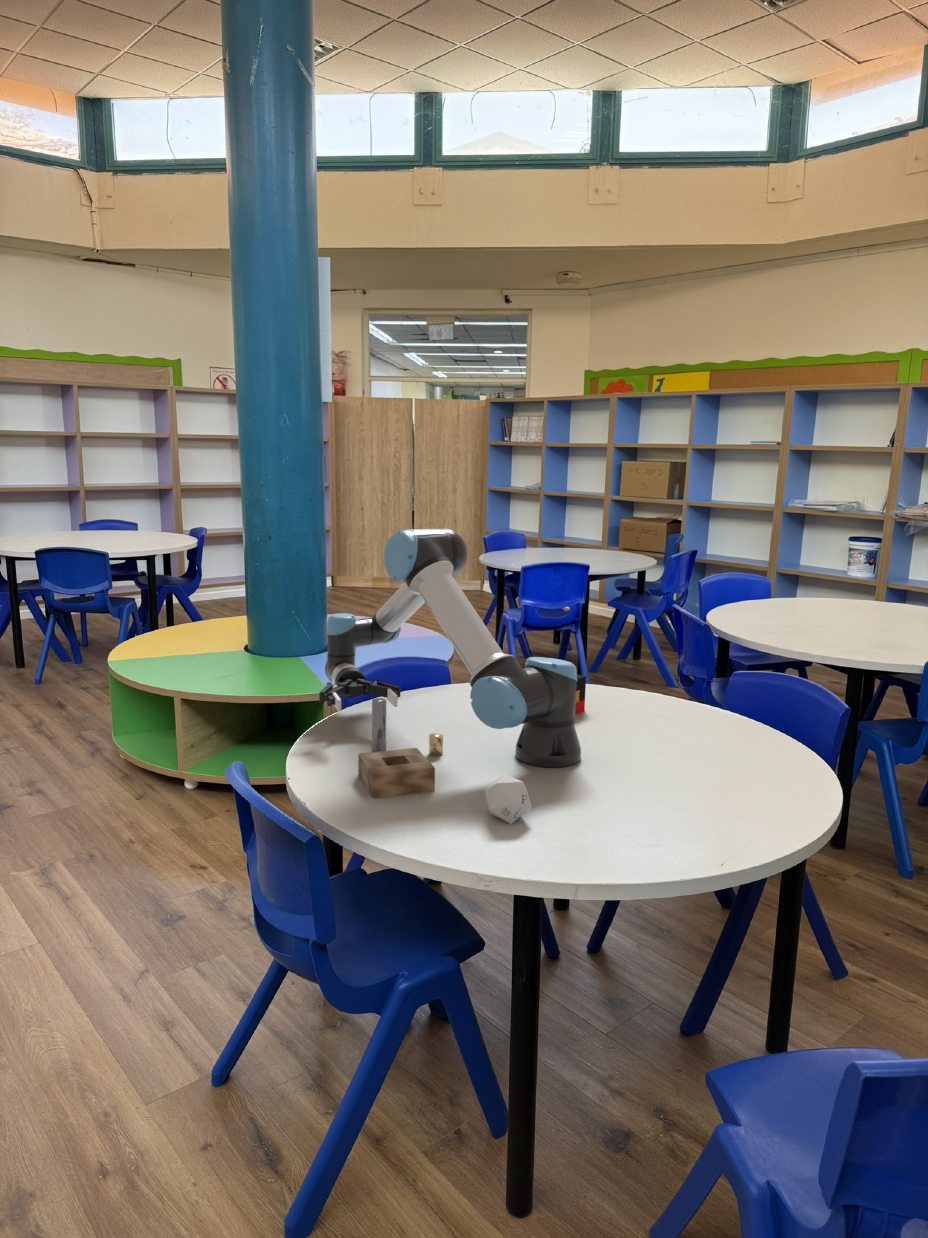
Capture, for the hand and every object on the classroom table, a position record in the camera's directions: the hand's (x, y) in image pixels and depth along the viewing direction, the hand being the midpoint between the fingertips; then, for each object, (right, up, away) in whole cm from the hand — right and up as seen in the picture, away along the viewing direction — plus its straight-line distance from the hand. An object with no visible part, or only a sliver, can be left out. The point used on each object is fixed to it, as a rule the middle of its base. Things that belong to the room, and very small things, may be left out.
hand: (368, 703), depth 194 cm
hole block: (+8, -15, -21) cm, 27 cm away
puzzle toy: (+49, -6, +34) cm, 60 cm away
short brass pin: (+16, -11, -3) cm, 20 cm away
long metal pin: (+3, -12, -7) cm, 14 cm away
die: (+31, -18, -37) cm, 52 cm away
